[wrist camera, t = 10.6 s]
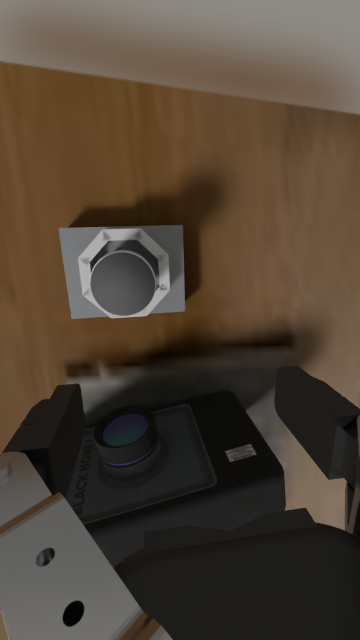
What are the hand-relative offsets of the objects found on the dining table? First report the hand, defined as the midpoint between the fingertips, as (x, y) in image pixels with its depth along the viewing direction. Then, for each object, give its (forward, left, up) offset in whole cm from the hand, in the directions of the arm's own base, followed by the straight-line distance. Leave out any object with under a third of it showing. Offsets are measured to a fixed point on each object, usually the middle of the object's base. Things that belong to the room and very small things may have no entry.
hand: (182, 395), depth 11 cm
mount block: (+3, -3, -23) cm, 23 cm away
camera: (+1, +16, -23) cm, 28 cm away
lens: (+2, -3, -20) cm, 20 cm away
